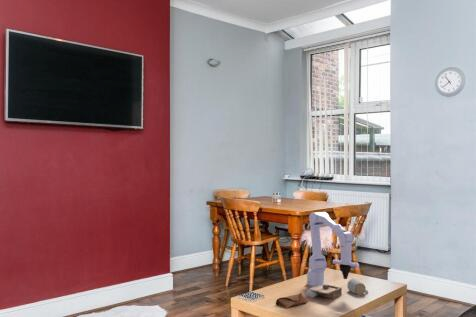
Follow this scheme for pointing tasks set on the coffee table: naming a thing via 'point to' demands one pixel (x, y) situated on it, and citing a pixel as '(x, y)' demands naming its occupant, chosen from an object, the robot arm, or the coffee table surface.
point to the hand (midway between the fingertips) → (345, 278)
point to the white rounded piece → (311, 293)
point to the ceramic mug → (356, 287)
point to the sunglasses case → (291, 301)
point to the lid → (324, 289)
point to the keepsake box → (333, 294)
